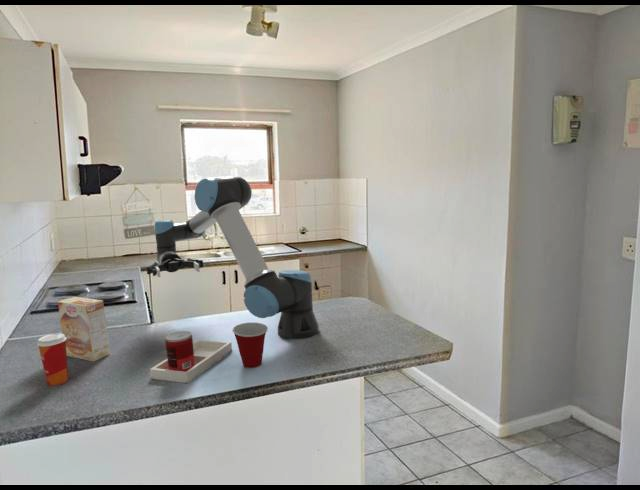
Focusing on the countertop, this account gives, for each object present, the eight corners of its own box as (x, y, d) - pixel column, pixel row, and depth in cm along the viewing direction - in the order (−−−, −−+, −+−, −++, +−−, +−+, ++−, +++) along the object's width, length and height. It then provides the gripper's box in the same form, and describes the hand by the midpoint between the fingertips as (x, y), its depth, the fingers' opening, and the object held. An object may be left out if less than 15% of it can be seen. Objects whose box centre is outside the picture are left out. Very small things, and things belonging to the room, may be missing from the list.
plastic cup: (255, 374, 139) (252, 335, 137) (228, 367, 144) (224, 330, 142) (277, 360, 148) (274, 324, 146) (251, 355, 153) (248, 320, 151)
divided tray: (199, 347, 163) (198, 339, 162) (232, 350, 158) (231, 342, 158) (151, 378, 139) (150, 369, 139) (187, 383, 135) (186, 373, 134)
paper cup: (50, 377, 144) (44, 333, 142) (76, 374, 145) (70, 331, 143) (38, 388, 137) (30, 343, 135) (65, 386, 137) (58, 341, 135)
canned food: (198, 364, 147) (195, 330, 145) (189, 375, 139) (185, 339, 137) (175, 364, 147) (171, 331, 146) (164, 375, 140) (160, 340, 138)
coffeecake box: (64, 355, 162) (56, 301, 159) (83, 348, 168) (75, 296, 165) (92, 362, 155) (84, 305, 152) (111, 354, 161) (103, 299, 158)
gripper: (203, 266, 191) (214, 276, 172) (138, 275, 181) (143, 286, 162) (201, 248, 190) (212, 256, 171) (136, 256, 180) (140, 265, 161)
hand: (178, 270), depth 166 cm, fingers open, 13 cm apart
